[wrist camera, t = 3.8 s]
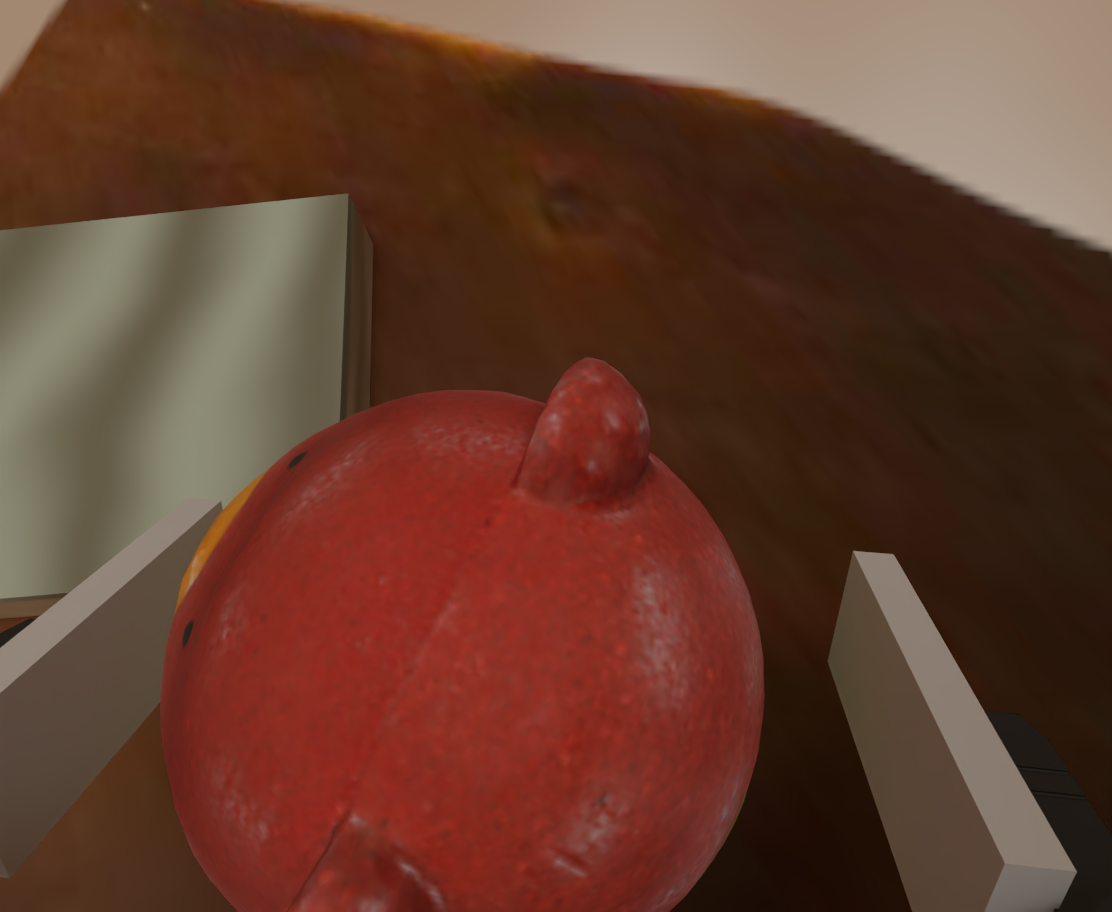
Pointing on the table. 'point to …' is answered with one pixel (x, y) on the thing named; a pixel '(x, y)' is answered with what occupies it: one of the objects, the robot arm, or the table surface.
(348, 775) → the stacking bear
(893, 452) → the table surface
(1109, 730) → the table surface
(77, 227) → the plinth
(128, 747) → the table surface
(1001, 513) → the table surface
